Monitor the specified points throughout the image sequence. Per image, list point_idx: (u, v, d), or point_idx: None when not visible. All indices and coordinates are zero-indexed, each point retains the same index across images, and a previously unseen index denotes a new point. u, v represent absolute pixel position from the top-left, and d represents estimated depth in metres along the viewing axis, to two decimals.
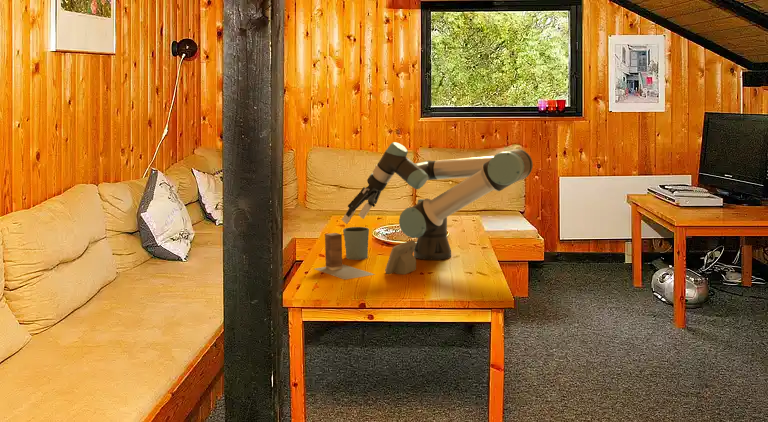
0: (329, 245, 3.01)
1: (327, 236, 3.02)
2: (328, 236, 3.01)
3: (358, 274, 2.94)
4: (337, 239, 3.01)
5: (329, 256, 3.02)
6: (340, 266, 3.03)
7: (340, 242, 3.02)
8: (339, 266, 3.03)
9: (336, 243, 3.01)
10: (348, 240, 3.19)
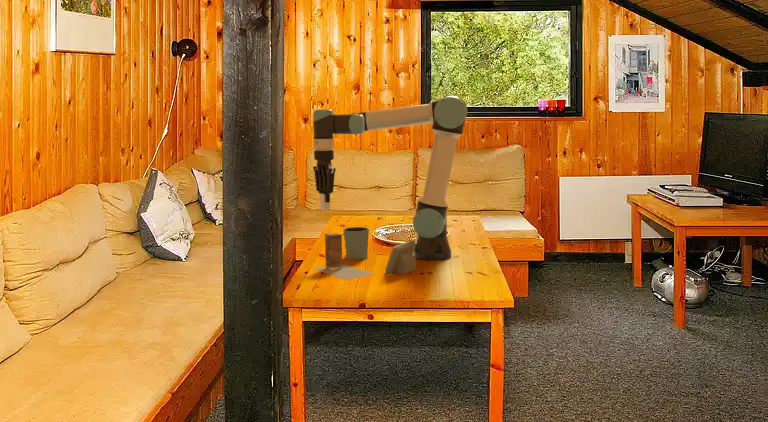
0: (329, 245, 3.01)
1: (327, 236, 3.02)
2: (328, 236, 3.01)
3: (358, 274, 2.94)
4: (337, 239, 3.01)
5: (329, 256, 3.02)
6: (340, 266, 3.03)
7: (340, 242, 3.02)
8: (339, 266, 3.03)
9: (336, 243, 3.01)
10: (348, 240, 3.19)
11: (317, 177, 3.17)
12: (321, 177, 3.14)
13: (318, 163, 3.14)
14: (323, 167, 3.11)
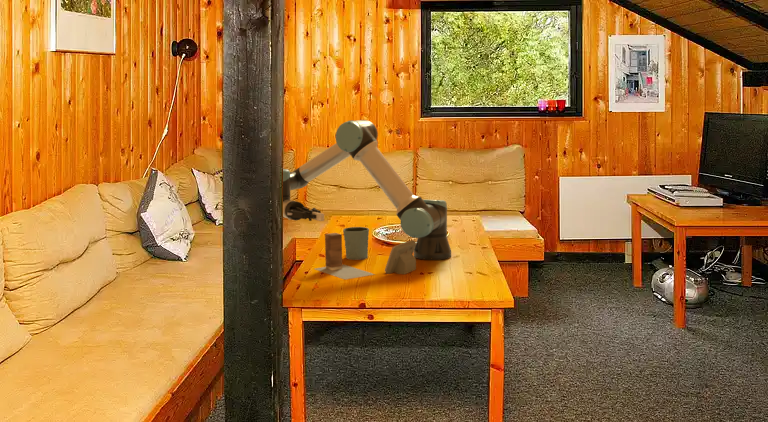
0: (329, 245, 3.01)
1: (327, 236, 3.02)
2: (328, 236, 3.01)
3: (358, 274, 2.94)
4: (337, 239, 3.01)
5: (329, 256, 3.02)
6: (340, 266, 3.03)
7: (340, 242, 3.02)
8: (339, 266, 3.03)
9: (336, 243, 3.01)
10: (348, 240, 3.19)
11: None
12: None
13: None
14: None
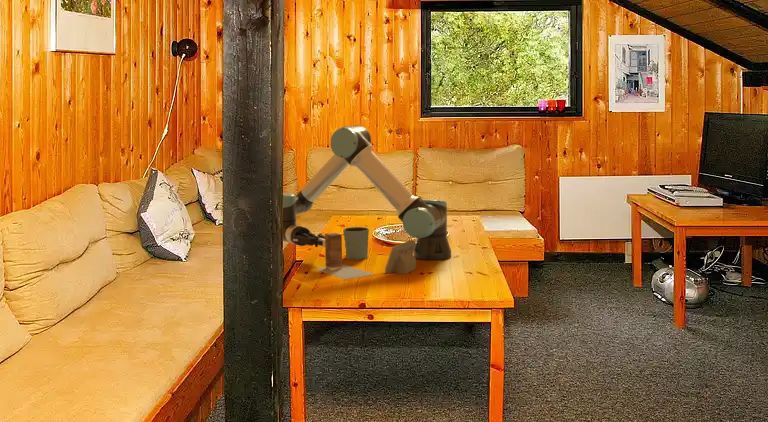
0: (329, 245, 3.01)
1: (327, 236, 3.02)
2: (328, 236, 3.01)
3: (358, 274, 2.94)
4: (337, 239, 3.01)
5: (329, 256, 3.02)
6: (340, 266, 3.03)
7: (340, 242, 3.02)
8: (339, 266, 3.03)
9: (336, 243, 3.01)
10: (348, 240, 3.19)
11: None
12: None
13: None
14: None
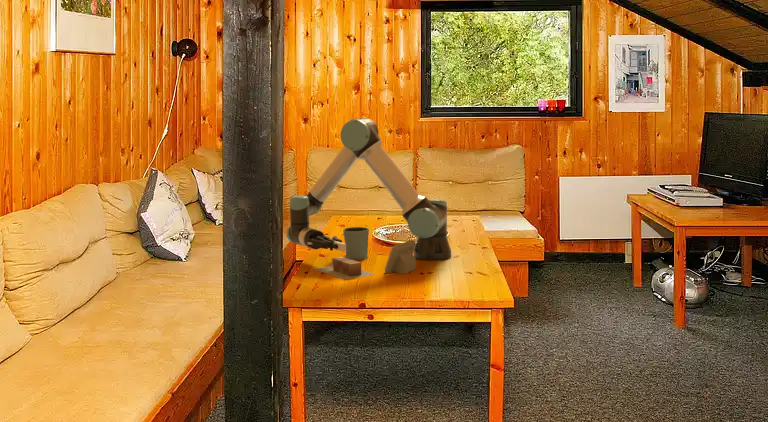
0: (345, 271, 2.94)
1: (349, 268, 2.91)
2: (350, 270, 2.91)
3: None
4: None
5: (339, 268, 2.97)
6: None
7: None
8: None
9: None
10: (348, 240, 3.19)
11: None
12: None
13: None
14: None
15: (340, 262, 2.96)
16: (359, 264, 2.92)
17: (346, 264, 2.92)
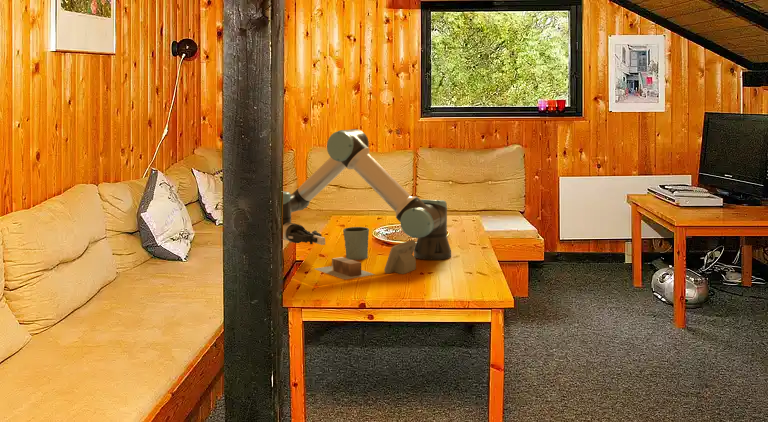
0: (345, 271, 2.94)
1: (349, 268, 2.91)
2: (350, 270, 2.91)
3: None
4: None
5: (339, 268, 2.97)
6: None
7: None
8: None
9: None
10: (348, 240, 3.19)
11: None
12: None
13: None
14: None
15: (340, 262, 2.96)
16: (359, 264, 2.92)
17: (346, 264, 2.92)
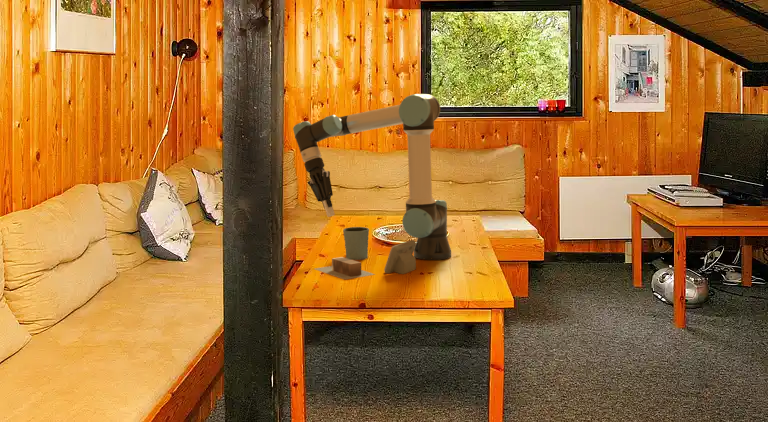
0: (345, 271, 2.94)
1: (349, 268, 2.91)
2: (350, 270, 2.91)
3: None
4: None
5: (339, 268, 2.97)
6: None
7: None
8: None
9: None
10: (348, 240, 3.19)
11: (314, 189, 3.24)
12: (318, 186, 3.22)
13: (311, 175, 3.24)
14: (317, 174, 3.20)
15: (340, 262, 2.96)
16: (359, 264, 2.92)
17: (346, 264, 2.92)
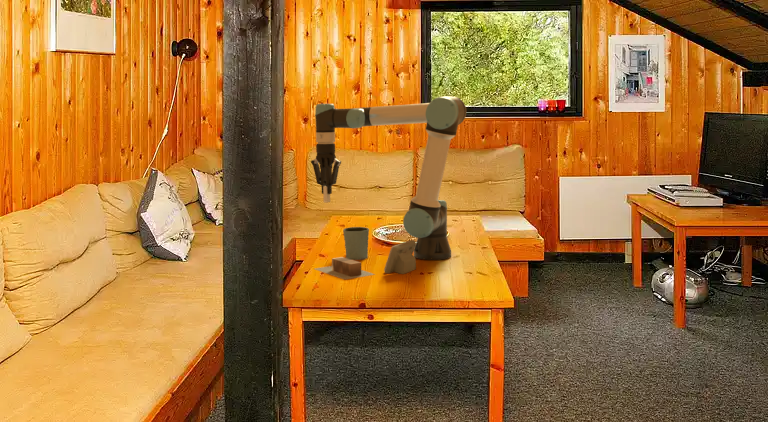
0: (345, 271, 2.94)
1: (349, 268, 2.91)
2: (350, 270, 2.91)
3: None
4: None
5: (339, 268, 2.97)
6: None
7: None
8: None
9: None
10: (348, 240, 3.19)
11: (317, 170, 3.23)
12: (323, 170, 3.22)
13: (319, 156, 3.22)
14: (328, 160, 3.20)
15: (340, 262, 2.96)
16: (359, 264, 2.92)
17: (346, 264, 2.92)
